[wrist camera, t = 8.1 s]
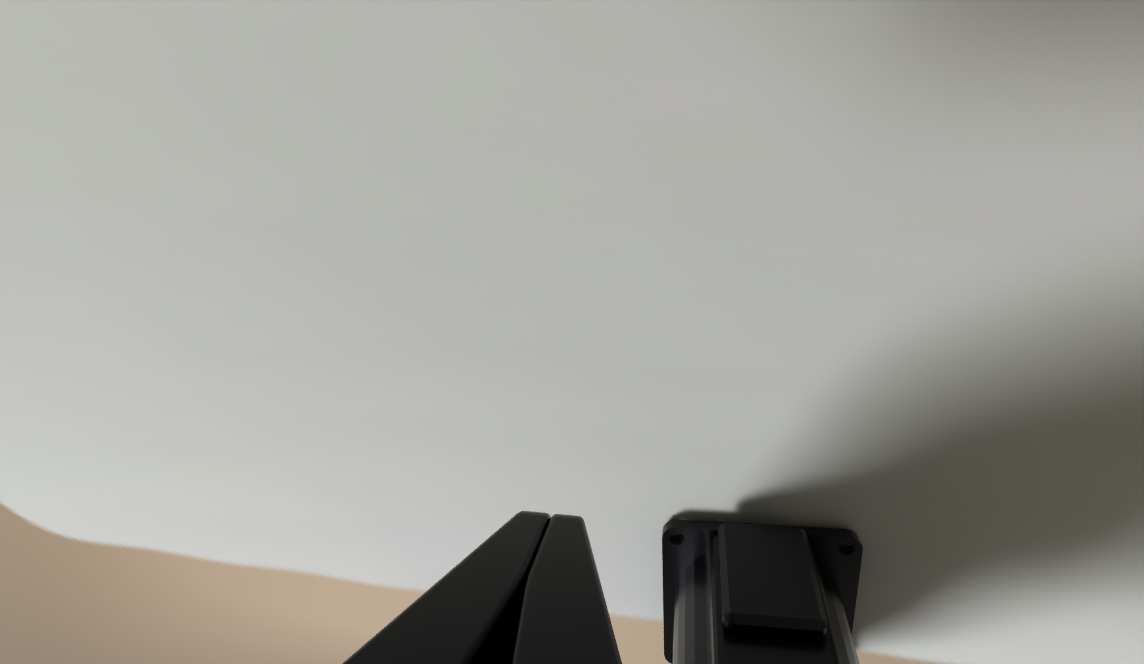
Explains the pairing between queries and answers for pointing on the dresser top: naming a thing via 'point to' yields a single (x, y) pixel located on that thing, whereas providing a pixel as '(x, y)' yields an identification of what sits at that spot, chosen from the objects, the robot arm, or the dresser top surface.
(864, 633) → the dresser top surface
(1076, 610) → the dresser top surface
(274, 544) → the dresser top surface
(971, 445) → the dresser top surface
